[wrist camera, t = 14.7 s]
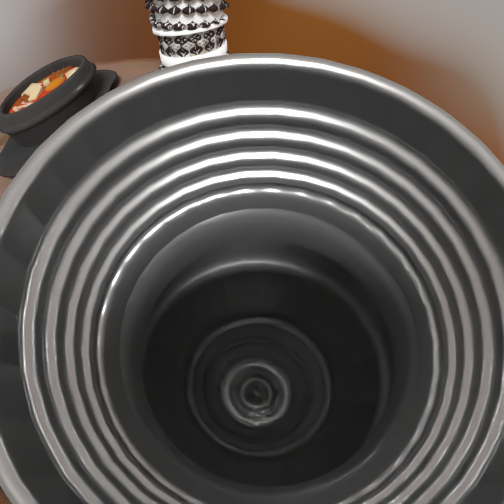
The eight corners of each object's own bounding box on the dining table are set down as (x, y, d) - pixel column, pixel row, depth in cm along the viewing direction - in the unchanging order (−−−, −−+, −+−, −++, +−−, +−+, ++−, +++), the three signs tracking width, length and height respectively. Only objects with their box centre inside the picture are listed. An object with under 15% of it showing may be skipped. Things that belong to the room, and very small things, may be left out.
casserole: (48, 194, 30) (14, 146, 22) (-16, 179, 32) (-42, 145, 25) (145, 77, 41) (135, 33, 33) (70, 81, 43) (56, 48, 36)
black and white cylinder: (223, 126, 33) (206, -85, 11) (154, 120, 35) (112, -64, 12) (244, 87, 38) (239, -82, 15) (182, 83, 39) (160, -72, 17)
